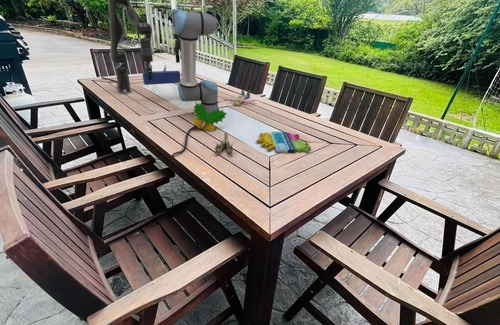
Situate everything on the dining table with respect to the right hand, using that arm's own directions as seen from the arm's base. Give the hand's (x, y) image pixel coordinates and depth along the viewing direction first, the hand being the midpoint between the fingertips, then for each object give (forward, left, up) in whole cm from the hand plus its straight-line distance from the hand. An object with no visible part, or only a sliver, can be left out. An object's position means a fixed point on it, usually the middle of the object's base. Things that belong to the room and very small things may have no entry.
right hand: (180, 64), depth 201 cm
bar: (-3, +15, -14) cm, 20 cm away
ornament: (-64, -13, -28) cm, 71 cm away
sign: (-91, -52, -28) cm, 108 cm away
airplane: (+80, +19, -28) cm, 87 cm away
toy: (-7, -48, -28) cm, 56 cm away
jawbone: (-96, -16, -28) cm, 102 cm away
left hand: (-5, +24, -10) cm, 26 cm away
